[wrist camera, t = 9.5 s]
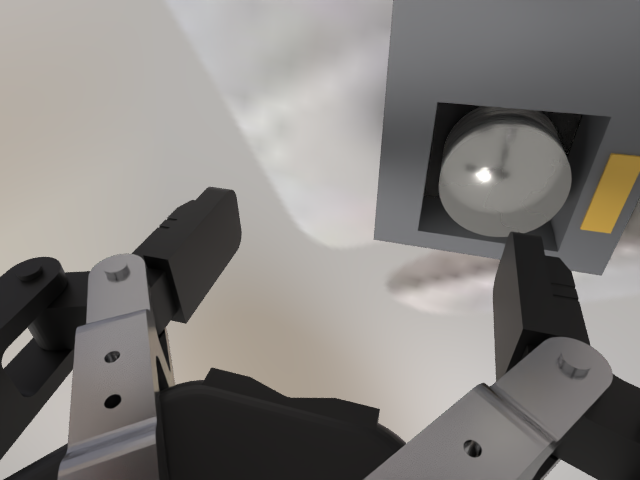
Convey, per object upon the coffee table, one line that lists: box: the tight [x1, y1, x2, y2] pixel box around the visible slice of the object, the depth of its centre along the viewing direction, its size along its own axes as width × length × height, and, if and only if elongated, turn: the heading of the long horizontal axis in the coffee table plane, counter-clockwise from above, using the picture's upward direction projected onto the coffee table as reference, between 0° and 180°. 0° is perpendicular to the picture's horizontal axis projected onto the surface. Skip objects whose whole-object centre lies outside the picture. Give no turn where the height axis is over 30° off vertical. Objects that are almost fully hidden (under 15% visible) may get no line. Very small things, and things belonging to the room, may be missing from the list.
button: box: [439, 106, 572, 237], centre depth 17 cm, size 4×4×3 cm
